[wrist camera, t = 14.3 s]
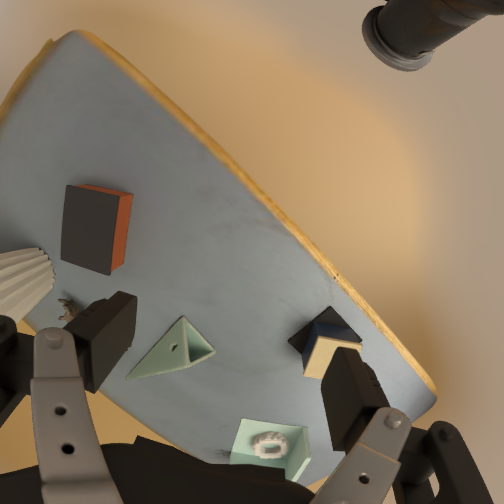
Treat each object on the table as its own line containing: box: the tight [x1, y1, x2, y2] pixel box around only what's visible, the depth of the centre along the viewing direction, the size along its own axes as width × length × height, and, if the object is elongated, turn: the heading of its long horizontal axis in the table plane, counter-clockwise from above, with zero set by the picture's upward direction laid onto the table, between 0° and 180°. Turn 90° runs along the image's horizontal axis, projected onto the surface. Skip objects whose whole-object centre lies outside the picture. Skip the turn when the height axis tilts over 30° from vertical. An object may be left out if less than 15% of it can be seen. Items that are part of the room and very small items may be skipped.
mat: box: [288, 306, 362, 354], centre depth 42 cm, size 8×8×1 cm
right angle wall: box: [229, 418, 311, 482], centre depth 45 cm, size 12×12×8 cm
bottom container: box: [61, 185, 133, 276], centre depth 37 cm, size 10×8×5 cm
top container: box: [301, 321, 363, 379], centre depth 39 cm, size 6×6×5 cm
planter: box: [126, 316, 216, 380], centre depth 44 cm, size 8×6×18 cm
